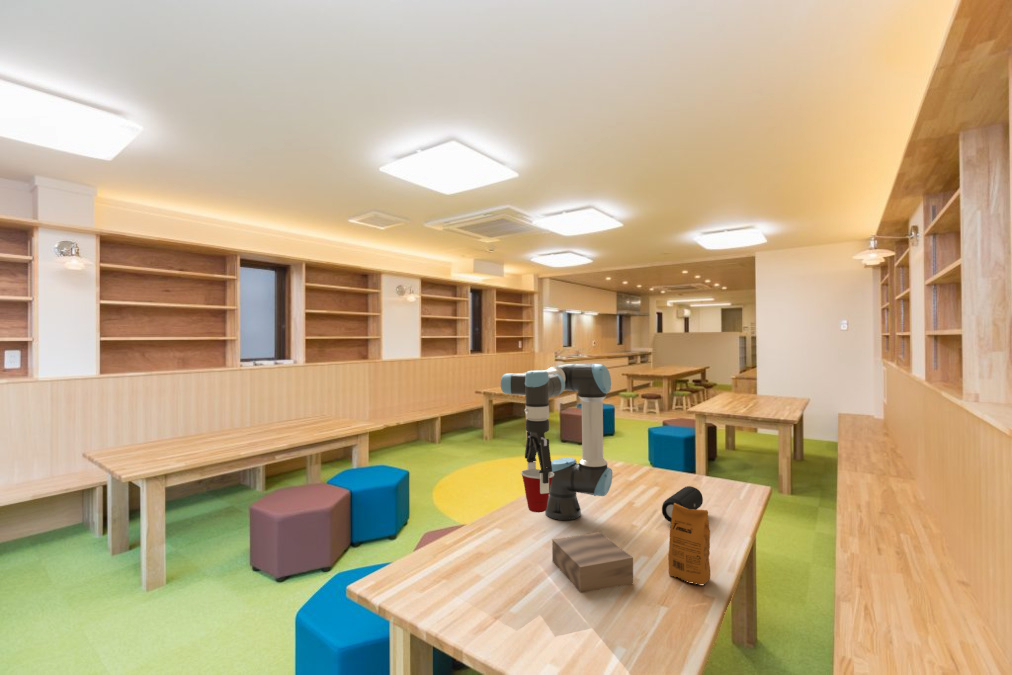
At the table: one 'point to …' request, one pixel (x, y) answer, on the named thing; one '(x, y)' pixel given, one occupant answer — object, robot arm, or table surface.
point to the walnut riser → (592, 561)
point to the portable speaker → (682, 501)
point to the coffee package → (689, 545)
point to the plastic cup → (535, 490)
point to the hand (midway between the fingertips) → (537, 487)
